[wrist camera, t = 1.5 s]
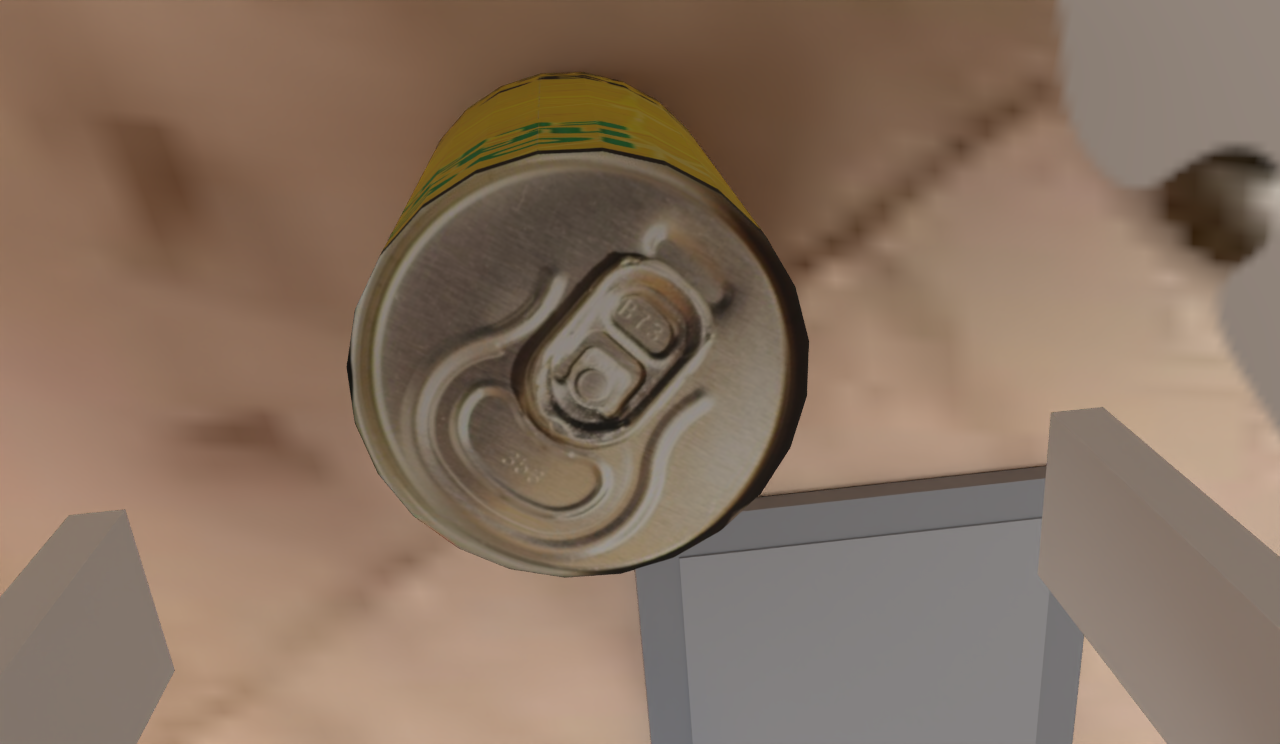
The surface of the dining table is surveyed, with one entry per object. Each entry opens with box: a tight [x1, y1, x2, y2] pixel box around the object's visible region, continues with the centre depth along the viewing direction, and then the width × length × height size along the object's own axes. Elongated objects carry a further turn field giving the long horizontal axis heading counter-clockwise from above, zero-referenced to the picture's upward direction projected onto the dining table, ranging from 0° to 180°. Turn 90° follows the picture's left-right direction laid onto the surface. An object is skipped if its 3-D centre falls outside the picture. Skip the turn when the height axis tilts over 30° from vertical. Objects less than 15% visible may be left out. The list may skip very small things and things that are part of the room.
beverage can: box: [347, 72, 809, 577], centre depth 26 cm, size 9×9×12 cm
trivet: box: [635, 466, 1084, 744], centre depth 38 cm, size 16×16×1 cm
